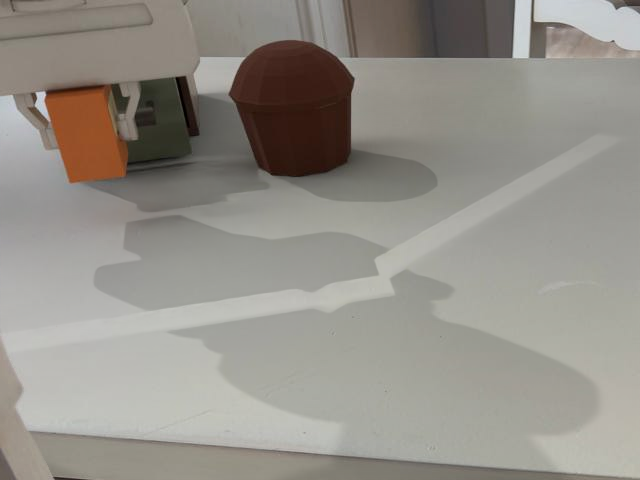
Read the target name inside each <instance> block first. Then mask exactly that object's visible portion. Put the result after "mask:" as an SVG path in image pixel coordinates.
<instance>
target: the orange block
mask: <svg viewBox="0 0 640 480" xmlns="http://www.w3.org/2000/svg"><path fill="white" fill-rule="evenodd" d="M43 100H44V101H43V102H44V105H45V108H46V111H47V114H48V118H49V122H51V124H52V128H53V131H54V134H55V137H56V141H57V144H58V147H59V149H58V150H59V153H60V156H61V160H62V163H63V166H64V169H65V174H66V176H67V179H68V182H69V184H75V183H83V182H91V181H93V182H94V181H99V180H100V181H101V180H109V179H114V178H115V179H117V178H124V177H126V175H127V167H128V163H127V160H128V149H127V146H126V142H125V141H122V142H120V140H119V137H118V130H117V127H116V123H115V118H116V115H117V114H118V112H117V108H116V104H115V101H114V97H113V93H112V89H111V86H110V84H108V85H99V86H89V87H80V88H71V89H62V90H53V91H47V94H46V93H45V97H44V99H43Z"/></svg>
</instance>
